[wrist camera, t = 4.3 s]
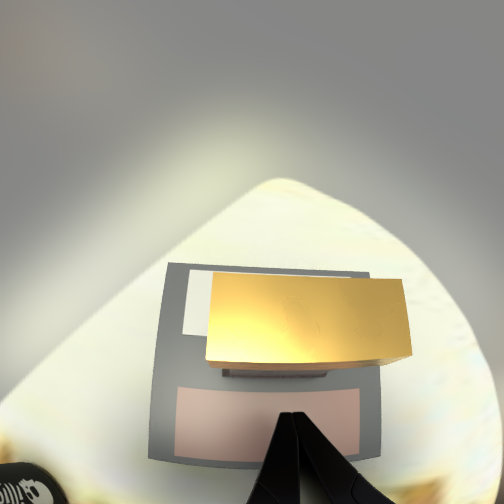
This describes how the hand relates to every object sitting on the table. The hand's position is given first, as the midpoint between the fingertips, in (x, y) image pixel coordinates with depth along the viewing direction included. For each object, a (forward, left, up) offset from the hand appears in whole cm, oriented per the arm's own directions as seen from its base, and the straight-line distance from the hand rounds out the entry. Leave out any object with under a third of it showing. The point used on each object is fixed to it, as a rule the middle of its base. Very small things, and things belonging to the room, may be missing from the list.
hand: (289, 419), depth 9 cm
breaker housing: (+2, +1, -11) cm, 11 cm away
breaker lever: (+2, +1, -4) cm, 5 cm away
